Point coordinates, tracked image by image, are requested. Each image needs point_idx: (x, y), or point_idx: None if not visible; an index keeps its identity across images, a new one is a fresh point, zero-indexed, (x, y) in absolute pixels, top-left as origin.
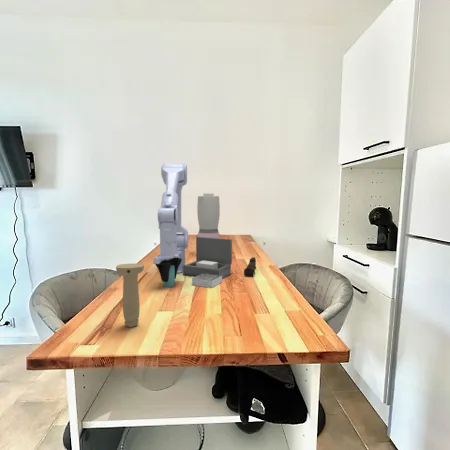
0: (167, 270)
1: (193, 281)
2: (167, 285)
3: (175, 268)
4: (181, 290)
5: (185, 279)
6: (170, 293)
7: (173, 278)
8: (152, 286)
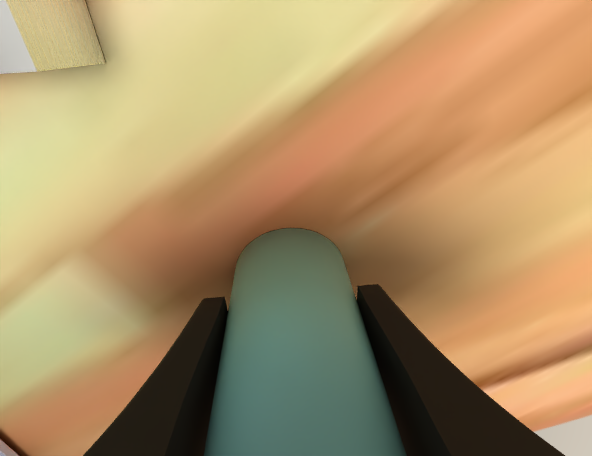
0: (505, 423)
1: (63, 33)
2: (343, 265)
3: (180, 435)
4: (389, 40)
5: (23, 274)
6: (537, 91)
7: (292, 284)
8: None
